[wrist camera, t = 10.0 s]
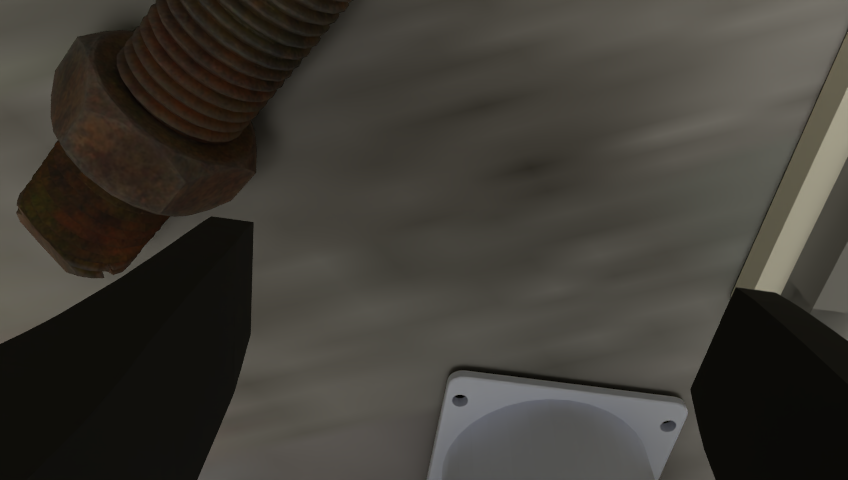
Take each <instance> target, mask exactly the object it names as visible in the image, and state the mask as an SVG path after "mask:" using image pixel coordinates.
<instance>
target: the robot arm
mask: <svg viewBox="0 0 848 480" xmlns="http://www.w3.org/2000/svg"><path fill="white" fill-rule="evenodd" d="M252 259H253V222H248V221H241V220H233V219H226V218H219V217H210V218H208V219H207V220H205V221H203V222H202V223H200V224H199V225H198V226H196V227H195V228H193V229H192V230H190V231H189V232H187V233H186V234H185V235H183V236H182V237H180V238H179V239H177V240H176V241H175V242H173V243H172V244H170V245H169V246H167V247H166V248H164V249H163V250H162V251H160V252H159V253H157V254H156V255H154V256H153V257H151V258H150V259H148V260H147V261H145V262H144V263H142V264H141V265H139V266H138V267H136V268H135V269H133V270H132V271H130V272H129V273H127V274H126V275H124V276H123V277H121V278H120V279H118V280H116V281H115V282H113V283H111V284H110V285H108V286H106V287H105V288H103V289H101V290H99V291H98V292H96V293H94V294H93V295H91V296H89V297H88V298H86V299H84V300H83V301H81V302H79V303H78V304H76V305H74V306H72V307H71V308H69V309H67V310H66V311H64V312H62V313H61V314H59V315H57V316H55V317H53V318H51V319H50V320H48V321H46V322H44V323H42V324H40V325H38V326H36V327H34V328H32V329H30V330H28V331H26V332H24V333H22V334H20V335H18V336H16V337H14V338H12V339H10V340H8V341H6V342H4V343H1V344H0V480H197V479H198V476H199V474H200V472H201V469H202V467H203V465H204V462H205V460H206V458H207V455H208V453H209V451H210V449H211V446H212V444H213V442H214V439H215V437H216V434H217V432H218V430H219V427H220V425H221V423H222V420H223V418H224V416H225V413H226V411H227V408H228V406H229V404H230V401H231V399H232V396H233V394H234V391H235V388H236V384H237V381H238V377H239V374H240V371H241V367H242V364H243V360H244V356H245V353H246V349H247V345H248V341H249V338H250V334H251V298H252ZM690 390H691V395H692V399H693V404H694V409H695V414H696V418H697V423H698V427H699V431H700V435H701V439H702V443H703V446H704V450H705V453H706V455H707V458H708V461H709V464H710V466H711V469H712V471H713V474H714V477H715V479H716V480H848V341H847V340H846V339H845V338H843V337H842V336H840V335H839V334H838V333H836V332H835V331H833V330H832V329H831V328H829V327H828V326H826V325H825V324H824V323H822V322H821V321H819V320H818V319H816V318H815V317H814V316H812V315H811V314H809V313H808V312H806V311H805V310H803V309H802V308H800V307H799V306H797V305H796V304H794V303H793V302H791V301H789V300H788V299H786V298H784V297H782V296H781V295H779V294H777V293H775V292H768V291H761V290H754V289H746V288H739V287H736V288H735V290H734V292H733V294H732V297H731V299H730V301H729V303H728V306H727V308H726V310H725V312H724V315H723V317H722V319H721V321H720V324H719V326H718V328H717V330H716V333H715V335H714V337H713V339H712V342H711V344H710V346H709V349H708V351H707V353H706V355H705V358H704V360H703V362H702V364H701V367H700V369H699V371H698V373H697V376H696V378H695V380H694V382H693V385H692V387H691V389H690ZM456 395H464V396H465V397H463V398H456V397H454V396H456ZM687 415H688V410H687V408H686V405H685V403H684V401H683V400H682V399H680V398H678V397H673V396H665V395H657V394H649V393H641V392H633V391H625V390H617V389H609V388H601V387H593V386H586V385H578V384H570V383H562V382H554V381H546V380H538V379H530V378H522V377H514V376H506V375H498V374H490V373H482V372H474V371H466V370H460V371H456V372H453V373H452V374H451V375H450V376H449V378H448V380H447V384H446V388H445V393H444V398H443V402H442V407H441V412H440V417H439V421H438V426H437V431H436V436H435V440H434V445H433V450H432V454H431V459H430V464H429V469H428V473H427V478H426V480H659V478H660V475H661V473H662V471H663V469H664V467H665V464H666V462H667V460H668V458H669V456H670V453H671V451H672V449H673V447H674V444H675V442H676V440H677V438H678V436H679V433H680V431H681V429H682V427H683V425H684V422H685V420H686V418H687ZM670 420H671V421H670ZM665 421H670V422H668V423H663V422H665Z"/></svg>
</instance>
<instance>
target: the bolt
mask: <svg viewBox="0 0 848 480" xmlns="http://www.w3.org/2000/svg"><path fill="white" fill-rule="evenodd" d="M351 1H353V0H156V4H153V5H151V7H150V10H149V12H148V15H147V16H145V17H144V18H143V20H142V22H141V24H140V26H138V27H137V28H136V29H135V31H134V32H133V31H125V30H118V31H106V32H100V33H95V34H90V35H84V36H79V37H77V38H76V40H75V41H74V43H73V44H72V46H71V47H70V49H69V51H68V52H67V54H66V55H65V57H64V58H63V60H62V61H61V63H60V64H59V66H58V67H57V69H56V70H55V75H54V81H53V88H52V94H51V120H52V126H53V131H54V133H55V135H56V137H57V139H58V141H57V142H56V144H55V146H54V148H53V149H52V150H51V151H50V153H49V154H48V156H47V158H46V159H45V160H44V161H43V163H42V165H41V166H40V168H39V169H38V170H37V171H36V173H35V174H34V175H33V177H32V180H31V181H30V182H29V183H28V184H27V185H26V187H25V189H24V190H23V191H22V192H21V193H20V195H19V198H18V200H17V206H18V211H17V215H18V218H19V220H20V222H21V223H22V224H23V225H24V226H25V228H26V229H27V230H28V231H29V232H30V233H31V234H32V235H33V237H34V238H35V239H36V240H37V241H38V242H39V243H40V244H41V245H42V247H43V248H44V249H45V250H46V251H47V252H48V253H49V254H50V255H51V256H52V257H53V258H54V259H55V261H56V262H57V263H58V264H59V265H60V266H61V267H62V268H63V269H64V270H65V271H66V272H68V273H71V274H74V275H77V276H82V277H88V278H104V275H103V272H102V271H107V272H109V273H111V274H112V275H114V274H117V273H120V272H123V271H124V270H125V269H126V268H127V267H128V266H129V265H130V264H131V262H132V261H133V260H134V259H135V258H136V257H137V255H138V254H139V253H140V252H141V250H142V248H143V247H144V246H145V245H146V244H147V242H148V241H149V240H150V239H151V238H153V236H154V234H155V232H157V231H158V230H160V228H161V226H162V225H163V223H164V222H165V221H166V220H167V219H168V218H169V217H170V216H187V215H192V214H196V213H199V212H203V211H206V210H210V209H212V208H215V207H217V206H219V205H222V204H224V203H226V202H229V201H231V200H232V199H233V198H234V197H235V196H236V195H237V193H238V192H239V191H240V190H241V189H242V188H243V187H244V186H245V184H246V183H247V182H248V181H249V180H250V179H251V178H252V177H253V176H254V174H255V173H256V158H257V148H256V137H255V131H254V128H253V125H252V122H251V119H253V118H255V117H256V116H257V114H258V113H259V110H260V109H262V108H263V107H264V106H265V105H266V104H267V101H268V99H270V98H272V97H273V95H274V94H275V92H276V89H278V88H280V87H282V85H283V83H284V80H285V79H286V78H288V77H290V76H291V74H292V71H293V69H294V68H296V67H298V66H299V65H300V63H301V60H302V58H304V57H306V56H308V55H309V53H310V50H311V48H312V47H313V46H316V45H317V43H318V42H319V40H320V36H322V35H323V34H324V33H325V32H326V31H328V29H329V28H330V26H329V24H331V23H334V22H335V21H336V20H337V18H338V17H339V13H340V12H344V11H345V10H346V8H347V7H348V6H349V3H348V2H351Z"/></svg>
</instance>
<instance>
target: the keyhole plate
mask: <svg viewBox="0 0 848 480" xmlns="http://www.w3.org/2000/svg"><path fill="white" fill-rule="evenodd" d="M736 287H739V288H746V289H754V290H761V291H768V292H775V293H777V294H779V295H781V296H782V297H784V298H786V299H788V300H789V301H791V302H793V303H794V304H796V305H797V306H799V307H800V308H802V309H803V310H805V311H806V312H808V313H809V314H811V315H812V316H814V317H815V318H816V319H818V320H819V321H821V322H822V323H824V324H825V325H826V326H828V327H829V328H831V329H832V330H833V331H835V332H836V333H838V334H839V335H840V336H842V337H843V338H845V339H846V340H847V341H848V32H847V34H846V37H845V39H844V41H843V43H842V46H841V48H840V50H839V52H838V55H837V57H836V59H835V61H834V64H833V66H832V68H831V70H830V73H829V75H828V77H827V80H826V82H825V84H824V86H823V89H822V91H821V93H820V95H819V98H818V100H817V102H816V104H815V107H814V109H813V111H812V113H811V116H810V118H809V120H808V122H807V125H806V127H805V129H804V131H803V134H802V136H801V138H800V140H799V143H798V145H797V147H796V149H795V152H794V154H793V156H792V158H791V161H790V163H789V165H788V168H787V170H786V172H785V174H784V177H783V179H782V181H781V183H780V186H779V188H778V190H777V192H776V195H775V197H774V199H773V201H772V204H771V206H770V208H769V210H768V213H767V215H766V217H765V219H764V222H763V224H762V226H761V228H760V231H759V233H758V235H757V237H756V240H755V242H754V244H753V246H752V249H751V251H750V253H749V256H748V258H747V260H746V262H745V265H744V267H743V269H742V271H741V274H740V276H739V278H738V280H737V283H736V285H735V287H734V289H733V292H734V290H735V288H736ZM733 292H732V294H733ZM732 294H731V297H732Z"/></svg>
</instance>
